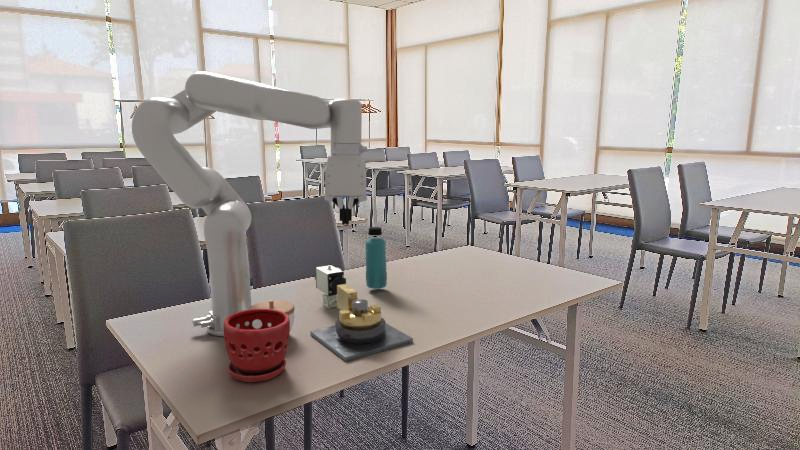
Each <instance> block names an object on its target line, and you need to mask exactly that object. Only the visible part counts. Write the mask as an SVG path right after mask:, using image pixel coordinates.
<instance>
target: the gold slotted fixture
mask: <svg viewBox="0 0 800 450" xmlns="http://www.w3.org/2000/svg"><path fill="white" fill-rule="evenodd" d="M337 303H338V307H337V309H339V311H338V318H339V319H338V320H339V323H340V325H341V326H342V327H344V328H348V329H354V330H363V329H370V328H374V327H376V326H378V325H379V324H380V323H381V318H382V306H380V305H379V304H373V305H371V304H370V305H369V304H368V303H369V302H368V300H367V299H365V298H364V299H362V298H361V299H359V298H358V291H356V290H355V289H354V288H353V287H351V286H349V285H348V284H347V283H346V284H342V285H337ZM368 305H369V306H368Z"/></svg>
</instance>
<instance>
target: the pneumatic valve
mask: <svg viewBox="0 0 800 450" xmlns="http://www.w3.org/2000/svg"><path fill="white" fill-rule="evenodd" d="M314 272H315V273H314V281H315V288H316V289H317V290H319V291H320V292H322V293H323V294H322V302H323V303H322V306H323V307H324V308H326V309H328V310H329V309H332V308H338V303H337V285H342V284H347V278H346V277H345V271H343V270H342V269H341V268H339V267H335V266H333V265H331V264H328V265H321V266H315V271H314Z"/></svg>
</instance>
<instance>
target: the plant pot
mask: <svg viewBox="0 0 800 450" xmlns="http://www.w3.org/2000/svg"><path fill="white" fill-rule="evenodd" d="M256 319H258V320H260V321H261V322H262V326H261V327H260V328H258V329H256V328H254V327H253V326H252V323H253V321H254V320H256ZM246 322H249V325H248V326H245V323H246ZM268 323H271V327H269V326H268ZM237 324H239V325H240V327H239V328H236V325H237ZM290 333H291V331H290V319H289V316H288V315H287V314H286V313H284V312H282V311H278V310H273V309H249V310H244V311H240V312H236V313H234V314H231V315H229V316H228V317H227V318H226V319H225V320H224V336H223V338H224V340H223V341H224V346H225V351H226V354H227V356H228V359H229V361H230V362H229V363H228V365H227V371H228V373H229V374H230V376H231V377H233V378H234V379H235V380H237V381H242V382H245V383H247V382H248V383H255V382H257V383H258V382H262V381H267V380H270V379H274V378H275V377H276V376H278V375H280V374H281V373H282V372H283V371H284V370H285V368H286V365H287V361H286V358H285V356H286V354H287V351H288V347H289V341H290Z"/></svg>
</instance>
